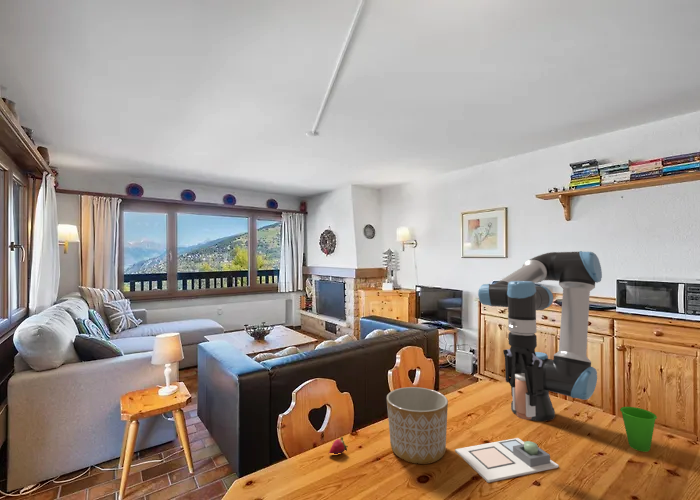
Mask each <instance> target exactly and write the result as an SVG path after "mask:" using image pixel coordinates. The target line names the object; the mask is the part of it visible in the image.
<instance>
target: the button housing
mask: <svg viewBox="0 0 700 500" xmlns="http://www.w3.org/2000/svg"><path fill="white" fill-rule="evenodd" d="M513 454H514V455H515V456H516V457H518V458H519V459H520V460H522V461H523V462H524V463H526V464H527V465H528V466H530V467H535V466H539V465H544V464H549V463H550V460H551V455H550V454H549V453H548V452H546V451H545V450H543V449H542V448H540V447H539V446H538V454H537V455H532V456H530V455H529V454H527V453H526V452H524V444H522V445H517V446H513Z"/></svg>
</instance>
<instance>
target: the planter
mask: <svg viewBox="0 0 700 500" xmlns="http://www.w3.org/2000/svg"><path fill="white" fill-rule="evenodd" d="M448 400H449V399H448V398H447V397H446V396H445V395H444V394H443V393H441V392H439V391H436V390H434V389H430V388H426V387H419V386H417V387H416V386H415V387H414V386H408V387H406V386H405V387H400V388H396V389H394V390H391V391H390V392H389V393H388V394H387V395H386V406H387V407H386V408H387V418H388V419H387V420H388V429H389V440H390V447H391V449H392V452H393V453H394V454H395V455H396V456H397V457H399V458H400V459H401V458H402V459H401V460H403V459H404V461H405V460H406V461H405V462H408V461H409V463H411V462H412V464H417V463H418V464H421V465H426V464H432V463H435V462H437V461H439V460H441V459H442V458H443V456H444V455H445V453H446V448H447V429H448V428H447V427H448V425H447V424H448V408H449V406H448V405H449V404H448V403H449V401H448Z"/></svg>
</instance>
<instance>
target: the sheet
mask: <svg viewBox="0 0 700 500" xmlns="http://www.w3.org/2000/svg"><path fill="white" fill-rule="evenodd" d="M524 442H525V441H523V440H522V439H520V438H519V437H515V438H510V439H503V440H499V441H493V442H488V443H481V444H478V445H477V444H476V445H471V446H466V447H459V448H456V449H454V452H455V453H456V454H457V455H458V456H459V457H461V458H462V459H463V461H465V462H466V463H467V464H468V465H469V466H470V467H471V468H472V469H473V470H474V471H475V472H476V473H478V475H479V476H480V477H482V479H483V480H485V481H486V483H493V482H498V481H503V480H506V479H512V478H517V477H520V476H521V477H522V476H525V475H526V476H527V475H530V474H534V473H535V474H536V473H538V472H539V473H540V472H544V471H548V470H553V469H557V468H559V466H560V465H559V464H558V463H556V462H555V461H553V460H552V459H550V463H549V464H544V465H539V466H535V467H530V466H528V465H527V464H526V463H524V462H523V461H522V460H520V459H519V458H518V457H516V456H515V455H514V454H513V446H517V445H522V444H524ZM530 456H531V455H530Z"/></svg>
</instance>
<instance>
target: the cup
mask: <svg viewBox="0 0 700 500" xmlns="http://www.w3.org/2000/svg"><path fill="white" fill-rule="evenodd" d="M619 411H620V412H621V415H622V420H623V425H624V429H625V432H626V433H625V434H626V439H627V442H628V445H629V447H630V448H632V449H633V450H636V451H639V452H644V453H645V452H646V453H647V452H650V450H651V446H652V441H653V435H654V429H655V424H656V423H655V422H656V420H657V419H658V416H657V415H656V414H655V413H653V412H652V411H649V410H646V409H645V408H644V409H643V408H640V407H634V406H622V407H620V409H619Z"/></svg>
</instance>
